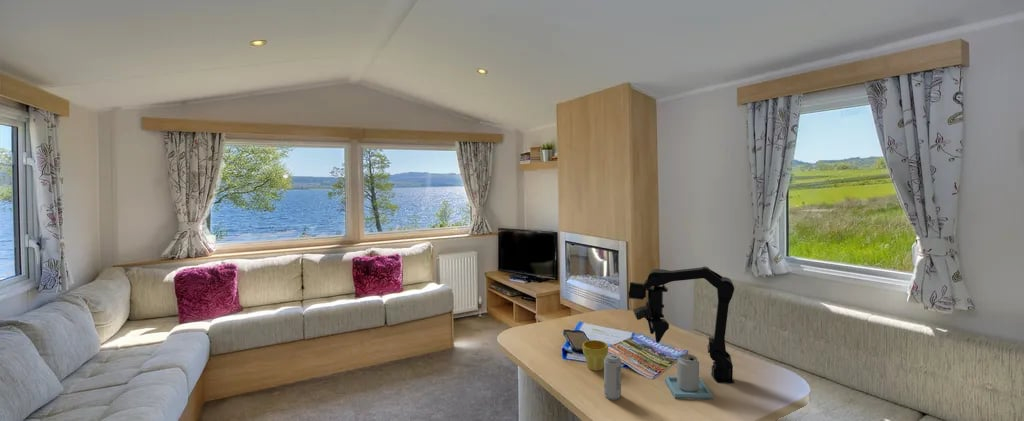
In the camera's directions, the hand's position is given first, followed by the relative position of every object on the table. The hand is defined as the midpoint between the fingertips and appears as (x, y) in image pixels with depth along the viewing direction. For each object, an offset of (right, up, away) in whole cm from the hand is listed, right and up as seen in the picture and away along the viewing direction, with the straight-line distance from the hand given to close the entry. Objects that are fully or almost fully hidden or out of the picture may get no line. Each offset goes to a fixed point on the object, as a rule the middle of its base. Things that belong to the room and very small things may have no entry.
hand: (654, 338), depth 174 cm
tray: (+7, -14, -16) cm, 23 cm away
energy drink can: (-22, -15, -20) cm, 33 cm away
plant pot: (-24, -13, +3) cm, 27 cm away
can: (+7, -14, -16) cm, 22 cm away
